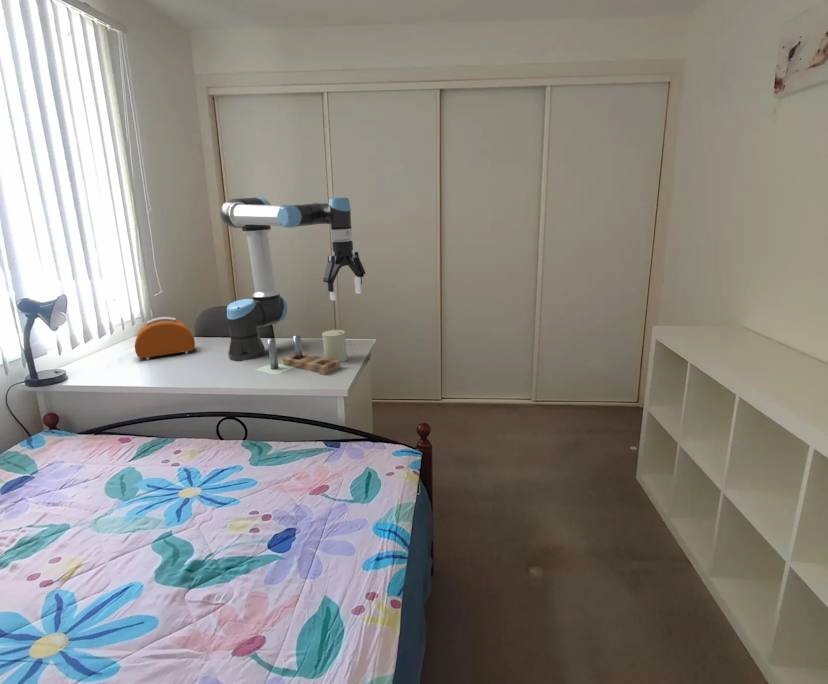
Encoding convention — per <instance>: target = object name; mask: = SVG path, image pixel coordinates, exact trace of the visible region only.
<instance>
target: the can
mask: <svg viewBox="0 0 828 684" xmlns="http://www.w3.org/2000/svg"><path fill="white" fill-rule="evenodd" d="M321 334H322V335H321V336H322V346H323V352H324V353H323V355H324V356H323V357H324V358H329V359H334V360H339V361H340V363H341V362H346V361H347V360H348V357H347V356H348V355H347V346H346V345H347V344H346V332H345V330H343V329H331V330H330V329H329V330H326V331H323V332H322V333H321Z"/></svg>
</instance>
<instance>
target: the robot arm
mask: <svg viewBox="0 0 828 684" xmlns="http://www.w3.org/2000/svg"><path fill="white" fill-rule="evenodd" d="M351 209H352V208H351V203H350V199H349V198H348V197H345V196H344V197H330V198H329V199H328V203H324V202H323V203H320V202H315V203H314V202H313V203H307V204H305V203H304V204H271V203H270V201H268V200H267V199H266V198H263V197H243V198H242V197H241V198H230V199H228V200H226V201H225V202H224V203H222V205H221V207H220V210H219V216H220V219H221V220H222V222H223V223H224V224H225V225H226V226H228V227H229V228H233V229H241V230H242V231H241V232H242V233H244V235H246V238H247V239H246V240H247V247H248V253H249V258H250V259H249V260H250V265H251V272H252V278H253V285H254V293H253V294H252V296H251V297H252V298H244V299H243V298H242V299H238V300H235V301H233V302H231V303H228V305H227V307H226V317H227V323H228V330H229V336H230V341H229V342H230V343H229V347H228V352H227V353H228V359H230V360H231V361H238V362H239V361H240V362H241V361H249V360H252V359H253V360H254V359H257V358H261V357H263V356H264V355H266V347H265V345H264V343H263V341H262V339H261V337H260V332H259V331H260V330H259V329H260V328H263V327H267V326H271V325H276V324H277V323H280V322H281V321H282V322H283V320H284V319H285V318H286V316H287V314H288V304H287V301H285V298H284V297H283V296H281V295H280V292H279V291H278V290H277V289H276V284H275V283H276V282H275V274H274V270H273V269H274V268H273V262H272V256H271V254H272V253H271V248H270V240H269V232H270V231H272V230H271V229H272V228H271V226H274V227H276V226H277V227H283V228H297V227H304V226H307V227H308V226H314V225H315V226H316V225H330V230H331V240H332V242H331V245H332V251H333V255H328V256H327V263H326V267H325V270H324V275H323V278H322V282H323V283H325V284H326V283H327V290H328V292H329V300H330V301H335V302H336V301H337V298H338V297H337V288H336V287H337V285H336V282H335V280H336V278H337V276H338V274H339V271H340V269H341V268H342V267H345V266H347V267H349V269H350V270H351V271H352V272H353V273H354V275H355V276H354V290H355V294H359V295H362V285H363V280H362V278H363V277H365V275H366V270H365V268H364V266H363V263H362V261H361V258H360V255H359V252H358V251H353V250H354V245H353V240H352V239H353V231H352V215H351V214H352V213H351V211H352V210H351Z"/></svg>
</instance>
